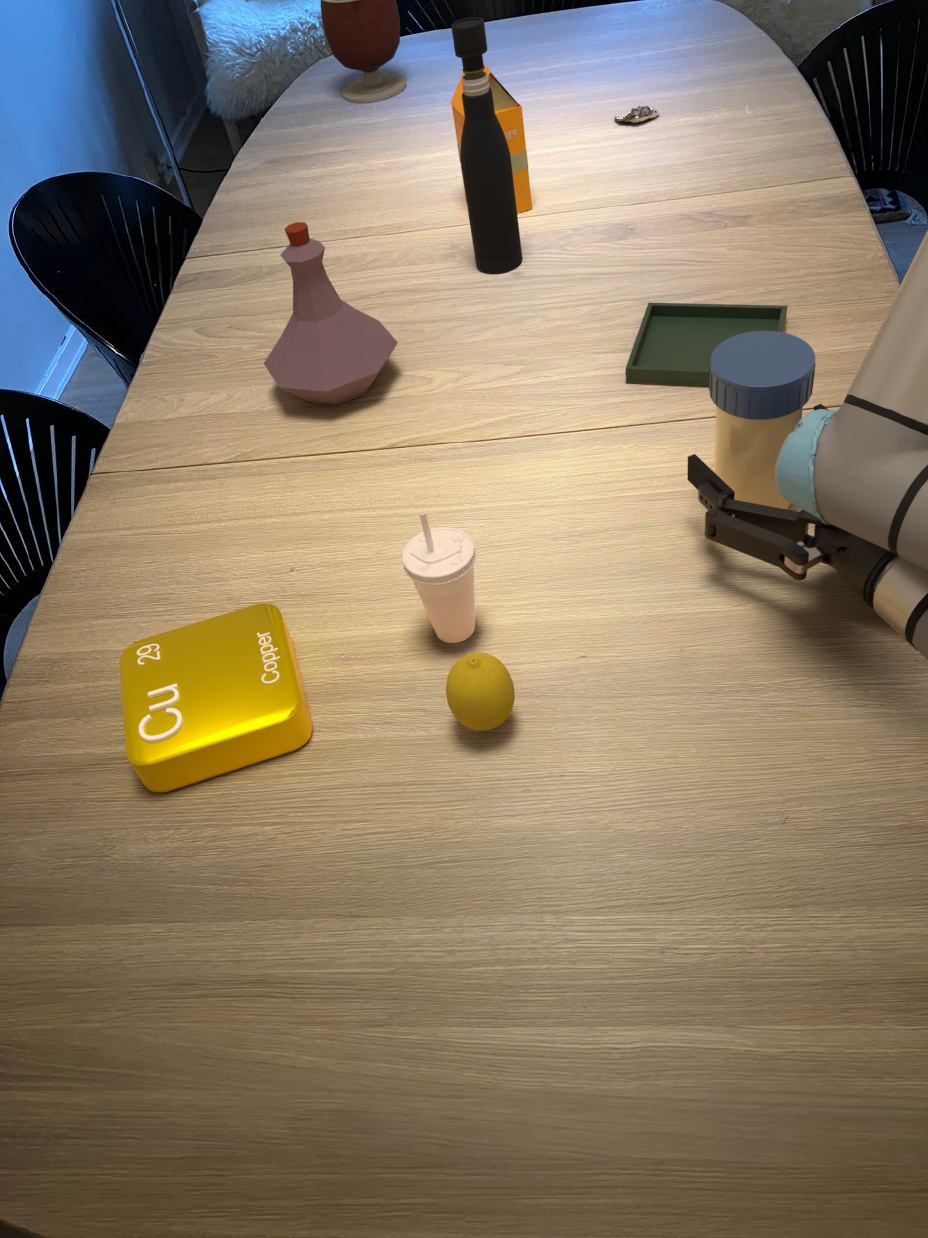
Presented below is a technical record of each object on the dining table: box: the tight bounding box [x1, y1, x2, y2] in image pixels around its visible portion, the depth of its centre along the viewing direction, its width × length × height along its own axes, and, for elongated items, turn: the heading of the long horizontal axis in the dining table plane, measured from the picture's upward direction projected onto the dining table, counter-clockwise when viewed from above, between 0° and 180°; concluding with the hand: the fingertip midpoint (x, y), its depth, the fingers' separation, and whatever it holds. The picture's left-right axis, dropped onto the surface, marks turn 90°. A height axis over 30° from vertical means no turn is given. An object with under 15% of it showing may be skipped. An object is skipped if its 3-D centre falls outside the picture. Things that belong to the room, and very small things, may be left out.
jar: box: [713, 405, 804, 517], centre depth 96 cm, size 8×8×15 cm
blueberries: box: [614, 105, 660, 124], centre depth 168 cm, size 7×8×2 cm
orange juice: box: [450, 64, 533, 215], centre depth 147 cm, size 8×9×20 cm
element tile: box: [118, 602, 313, 793], centre depth 90 cm, size 15×15×5 cm
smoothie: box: [401, 510, 478, 644], centre depth 90 cm, size 6×6×14 cm
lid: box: [708, 331, 816, 420], centre depth 91 cm, size 9×9×3 cm
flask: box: [263, 221, 399, 406], centre depth 119 cm, size 16×16×20 cm
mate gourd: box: [320, 0, 408, 104], centre depth 188 cm, size 16×14×20 cm
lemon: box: [445, 652, 516, 732], centre depth 84 cm, size 6×6×8 cm
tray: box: [625, 302, 788, 388], centre depth 119 cm, size 16×14×2 cm
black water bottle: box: [450, 16, 523, 275], centre depth 131 cm, size 6×6×30 cm
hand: (754, 441), depth 97 cm, fingers open, 13 cm apart
